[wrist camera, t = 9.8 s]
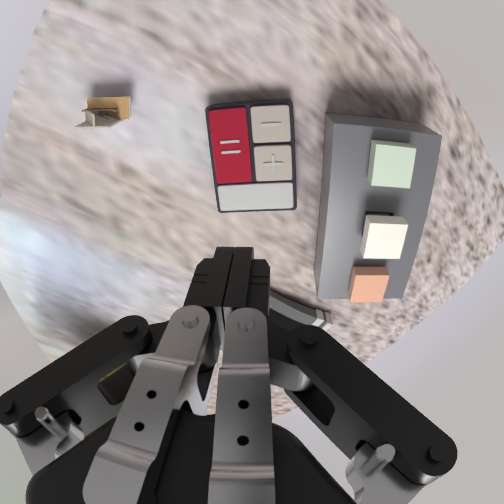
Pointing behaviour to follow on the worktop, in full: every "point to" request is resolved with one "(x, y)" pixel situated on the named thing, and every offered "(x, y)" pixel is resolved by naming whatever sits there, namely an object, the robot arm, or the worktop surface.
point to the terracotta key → (368, 284)
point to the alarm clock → (295, 314)
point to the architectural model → (115, 112)
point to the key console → (368, 200)
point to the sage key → (391, 164)
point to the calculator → (253, 155)
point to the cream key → (383, 235)
